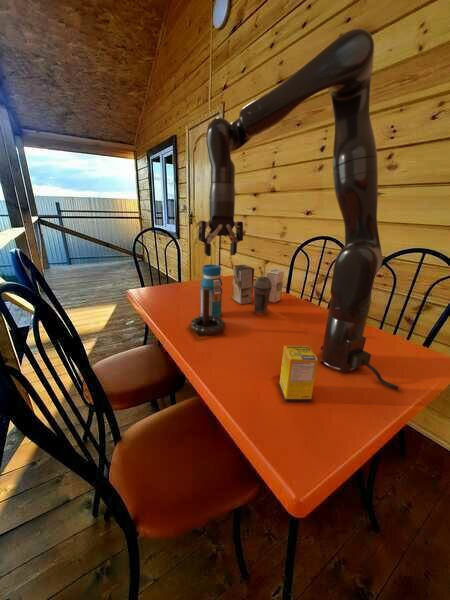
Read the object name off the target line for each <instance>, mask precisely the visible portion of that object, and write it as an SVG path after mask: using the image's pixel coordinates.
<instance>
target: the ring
mask: <svg viewBox="0 0 450 600" xmlns="http://www.w3.org/2000/svg"><path fill="white" fill-rule="evenodd" d="M200 323H203V316H201V315H200V316H197V317H195V318H193V319H191V322H190V324H189V325H190V326H189V328H190V329H191V330H192V332H193V333H194V332H196V333H199V334H205V335H206V336H210V335H216V334H221V333H222V332H221V331H223V332H224V330H225V329H226V322H225V320H224V319H222V318H221V317H219V316H218V317H215V316H209V323H215V324H216V325H217V326H214V327H202V326H199V325H198V324H200ZM220 332H221V333H220Z"/></svg>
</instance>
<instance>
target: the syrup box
mask: <svg viewBox="0 0 450 600" xmlns="http://www.w3.org/2000/svg"><path fill="white" fill-rule="evenodd" d="M284 275H285V271H284V270H281V269H277V268H273V269H269V270H267V271H266V277H267V278H268V279H269V280H270V281H271V285H272V288H271V291H270V295H269V300H268V302H270V303H274V304H275V303H277V302H280V301H281V297H282V291H283V282H284Z"/></svg>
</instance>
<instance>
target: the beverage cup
mask: <svg viewBox="0 0 450 600" xmlns="http://www.w3.org/2000/svg"><path fill="white" fill-rule="evenodd" d="M265 274H266V266H265V265H264V266H263V271H262V276H258V277H257V278H256V279H255V281H254V282H253V297H254V299H253V300H254V301H253V302H254V304H253V306H254V307H253V308H254V312H255V313H257V314H265V313H267V311H268V305H269V301H268V300H269V295H270V291H271V288H272V285H271V281H270V280H269V279H268V278H267V276H265Z"/></svg>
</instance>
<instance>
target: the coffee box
mask: <svg viewBox="0 0 450 600" xmlns="http://www.w3.org/2000/svg"><path fill="white" fill-rule="evenodd" d="M232 269H233V271H232V295H231V297H232V298H231V299H232V300H234V301H235V302H237V303H238V304H240V305H246V304H252V303H253V296H254V287H253V286H254V280H255V279H254V278H255V268H254V267H252V266H249V265H246V264H236V265H233V268H232Z"/></svg>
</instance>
